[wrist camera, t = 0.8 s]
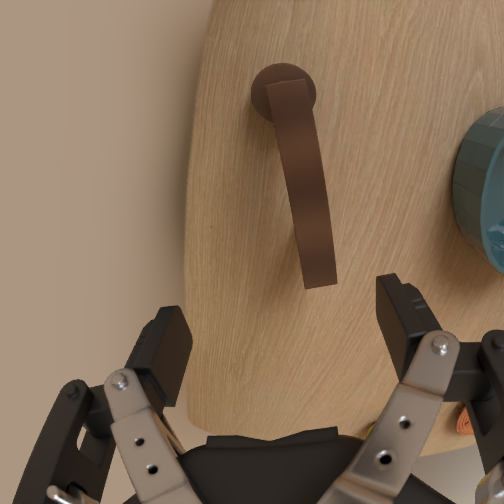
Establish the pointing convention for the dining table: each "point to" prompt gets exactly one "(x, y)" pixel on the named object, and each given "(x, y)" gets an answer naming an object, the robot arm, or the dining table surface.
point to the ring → (464, 423)
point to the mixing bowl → (482, 187)
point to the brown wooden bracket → (300, 165)
